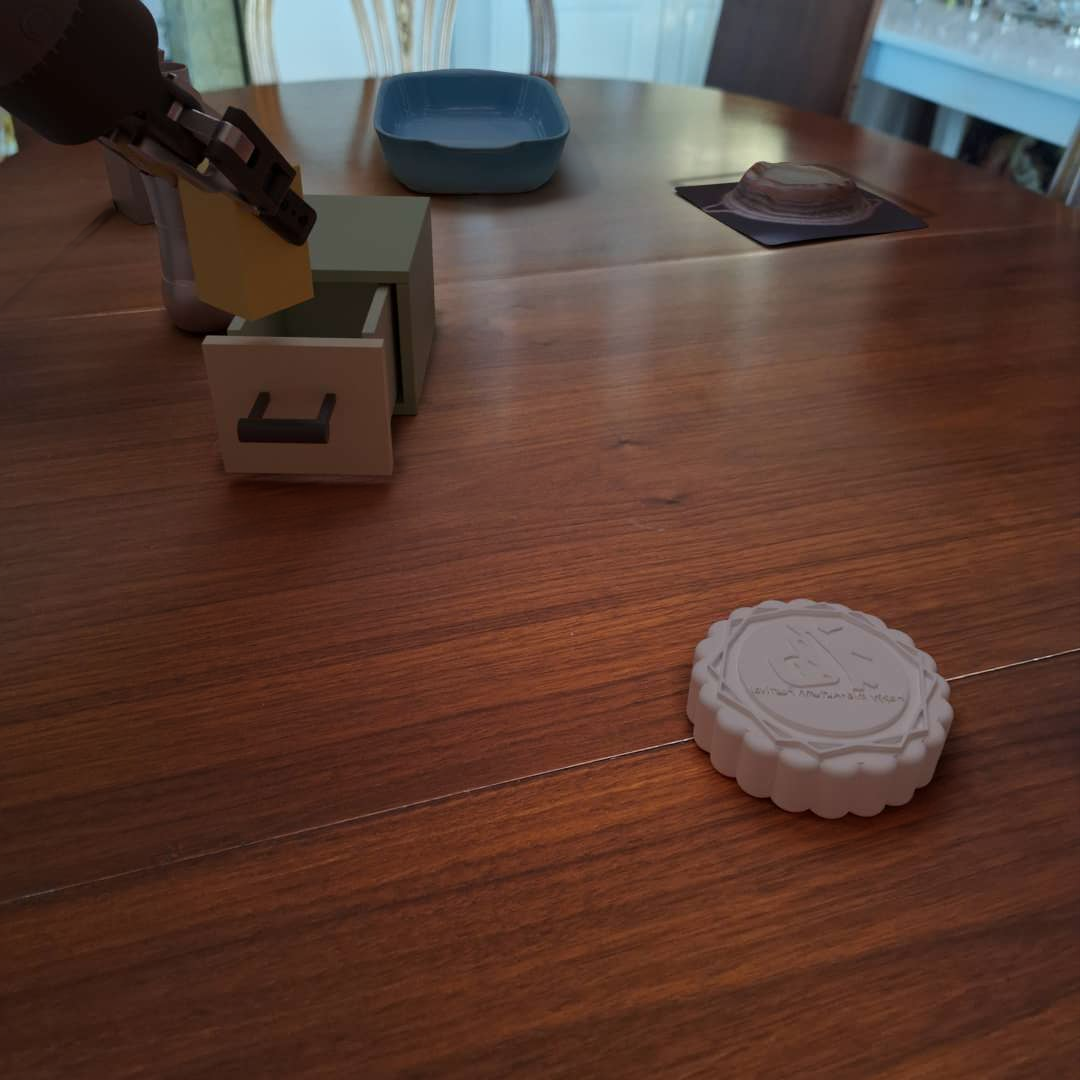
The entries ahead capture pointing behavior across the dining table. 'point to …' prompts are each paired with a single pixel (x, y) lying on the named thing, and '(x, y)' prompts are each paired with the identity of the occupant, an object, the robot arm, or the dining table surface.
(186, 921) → the dining table surface
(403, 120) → the casserole dish
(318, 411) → the drawer
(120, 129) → the robot arm
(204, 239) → the block
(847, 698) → the mooncake
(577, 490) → the dining table surface
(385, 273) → the cabinet
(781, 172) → the round mound on square
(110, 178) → the perfume bottle
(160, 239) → the plastic bottle
